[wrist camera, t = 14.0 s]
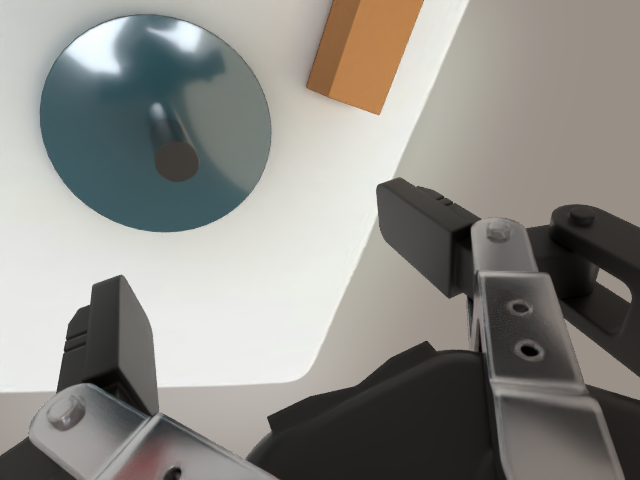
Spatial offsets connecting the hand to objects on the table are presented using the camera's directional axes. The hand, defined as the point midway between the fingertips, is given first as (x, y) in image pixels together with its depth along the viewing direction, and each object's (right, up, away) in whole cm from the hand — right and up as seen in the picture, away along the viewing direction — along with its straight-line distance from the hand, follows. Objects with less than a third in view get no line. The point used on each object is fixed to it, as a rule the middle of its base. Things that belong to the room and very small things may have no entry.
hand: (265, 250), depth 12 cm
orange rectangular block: (+4, +15, +17) cm, 23 cm away
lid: (-9, +7, +15) cm, 18 cm away
